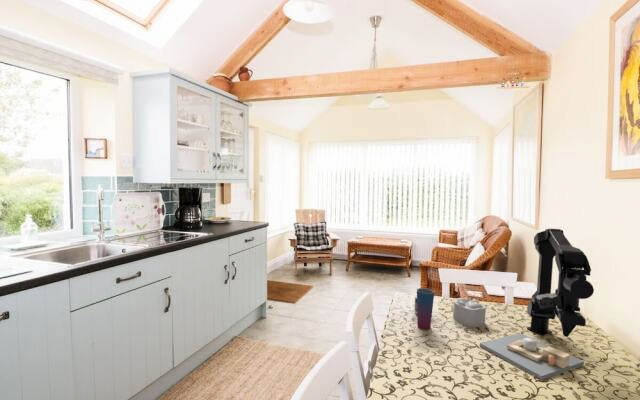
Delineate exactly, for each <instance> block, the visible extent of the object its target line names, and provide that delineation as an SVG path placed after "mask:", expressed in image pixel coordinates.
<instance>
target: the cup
mask: <svg viewBox="0 0 640 400" xmlns="http://www.w3.org/2000/svg"><path fill="white" fill-rule="evenodd" d="M416 295H417V314H416V316H417V322H416V323H417V328H418V329H422V330H424V331H425V330H426V331H428V330H431V326H432V319H433V318H432V316H433V315H432V314H433V306H434V298H435V291H434V290H433V289H430V288H427V287H426V288H425V287H421V288H417V289H416Z"/></svg>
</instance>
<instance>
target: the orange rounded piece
mask: <svg viewBox="0 0 640 400" xmlns="http://www.w3.org/2000/svg"><path fill="white" fill-rule="evenodd" d="M554 363H555V356H553V355H549V360H548V365H549V366H552V367H554Z"/></svg>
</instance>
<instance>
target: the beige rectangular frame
mask: <svg viewBox="0 0 640 400" xmlns="http://www.w3.org/2000/svg"><path fill="white" fill-rule="evenodd" d="M554 348H555V347H553V348H552V346H550V347H547V348H545V347H542V346H540V345H537V352H535V353H533V352H530V351H528V350H526V349H523V339H520V340H518V341H515V342H513V343H511V344H508V345H507V349H510V350H512V351H514V352H516V353H519V354H521V355H523V356H525V357H528V358H530V359H532V360H535V361H537V362H538V361H540V360H545V361H547V362H548V360H549V355H553V356H555V363H554V365H556V366H558V367H561V368H565V367H567V366H568V365H569V358H570V355H571V354H570V353H567V352H564V351H562V350H559V349H557V348H555V349H554Z"/></svg>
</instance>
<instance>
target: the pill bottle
mask: <svg viewBox="0 0 640 400" xmlns="http://www.w3.org/2000/svg"><path fill="white" fill-rule="evenodd" d="M413 311H414V313H415V314H416V315H417V294H416V295H415V297H414V310H413Z"/></svg>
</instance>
